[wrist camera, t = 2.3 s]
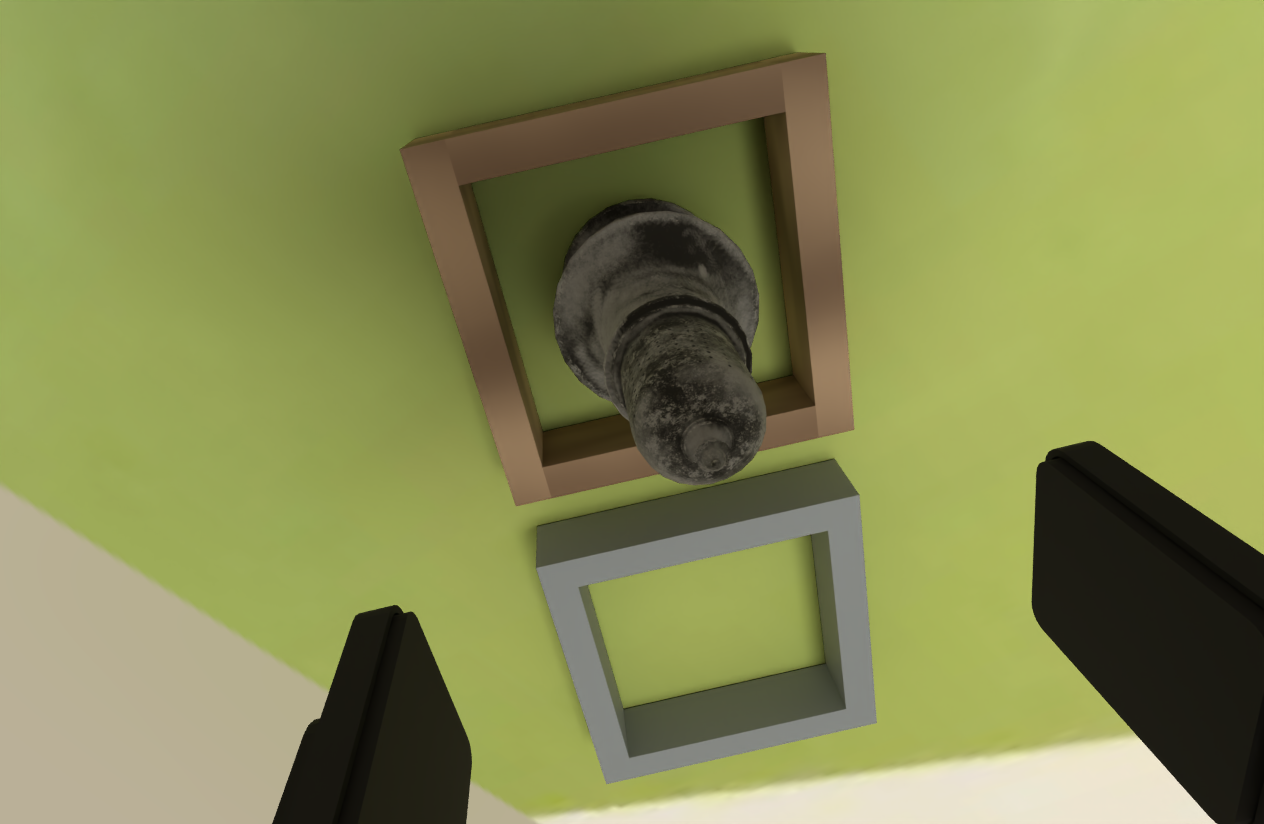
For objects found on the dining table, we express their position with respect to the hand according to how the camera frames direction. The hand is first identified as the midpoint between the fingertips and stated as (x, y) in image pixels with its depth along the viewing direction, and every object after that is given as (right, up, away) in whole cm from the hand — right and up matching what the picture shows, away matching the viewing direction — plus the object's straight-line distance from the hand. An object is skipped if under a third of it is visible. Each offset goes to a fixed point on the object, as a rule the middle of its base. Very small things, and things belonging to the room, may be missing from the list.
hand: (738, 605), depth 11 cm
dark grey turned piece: (-1, +7, +14) cm, 15 cm away
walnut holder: (-1, +7, +13) cm, 15 cm away
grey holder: (+2, -5, +20) cm, 20 cm away
